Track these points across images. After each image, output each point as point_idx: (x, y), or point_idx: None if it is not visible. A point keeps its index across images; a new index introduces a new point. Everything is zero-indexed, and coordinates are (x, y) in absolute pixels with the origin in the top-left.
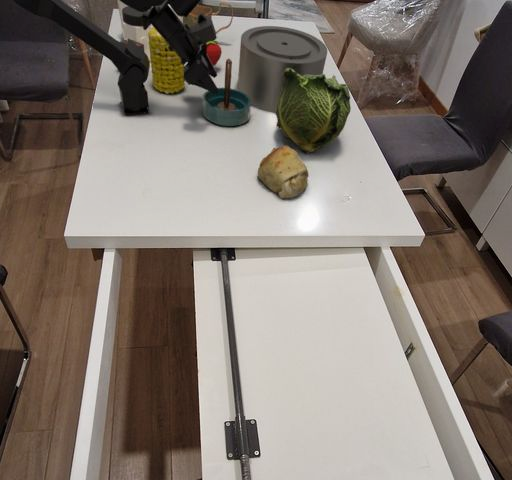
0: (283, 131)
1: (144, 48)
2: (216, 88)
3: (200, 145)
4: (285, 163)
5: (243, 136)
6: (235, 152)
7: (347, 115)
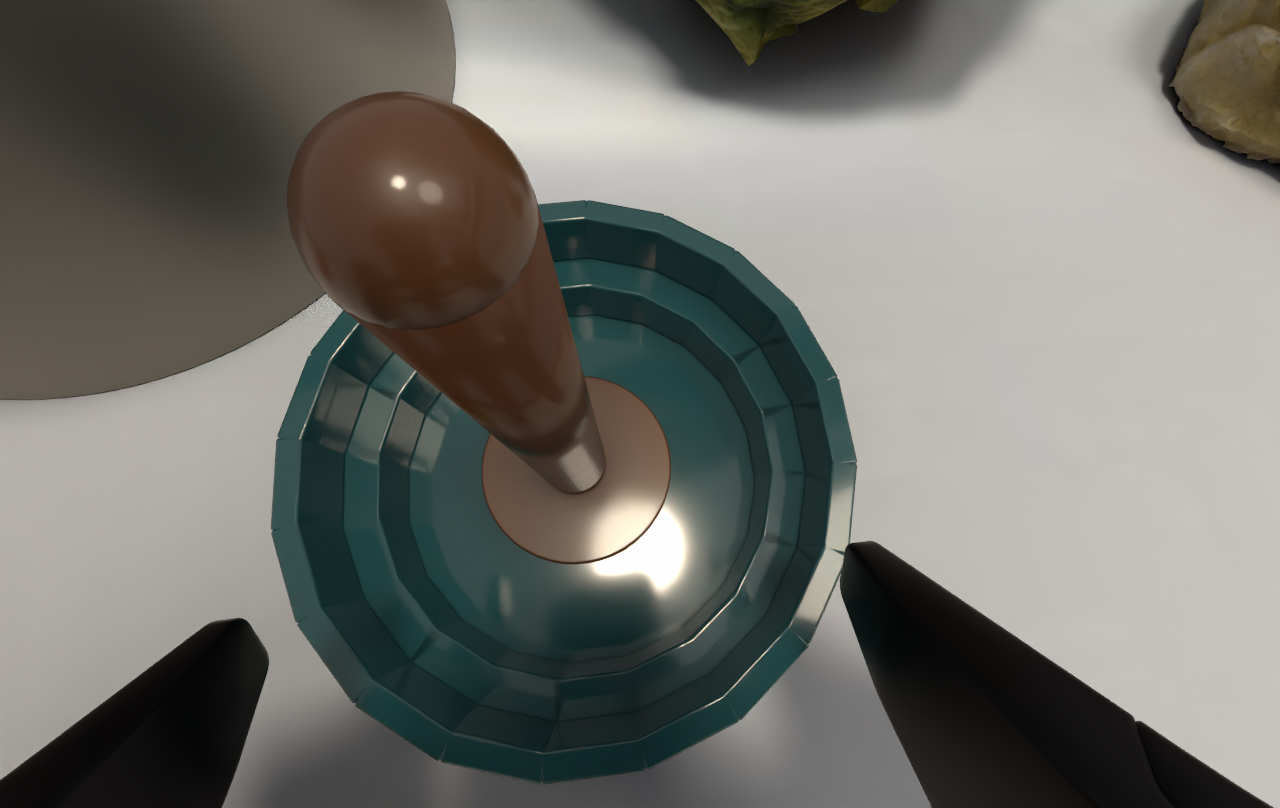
0: (875, 4)
1: None
2: (929, 585)
3: (1168, 675)
4: None
5: (880, 320)
6: (1135, 371)
7: None
